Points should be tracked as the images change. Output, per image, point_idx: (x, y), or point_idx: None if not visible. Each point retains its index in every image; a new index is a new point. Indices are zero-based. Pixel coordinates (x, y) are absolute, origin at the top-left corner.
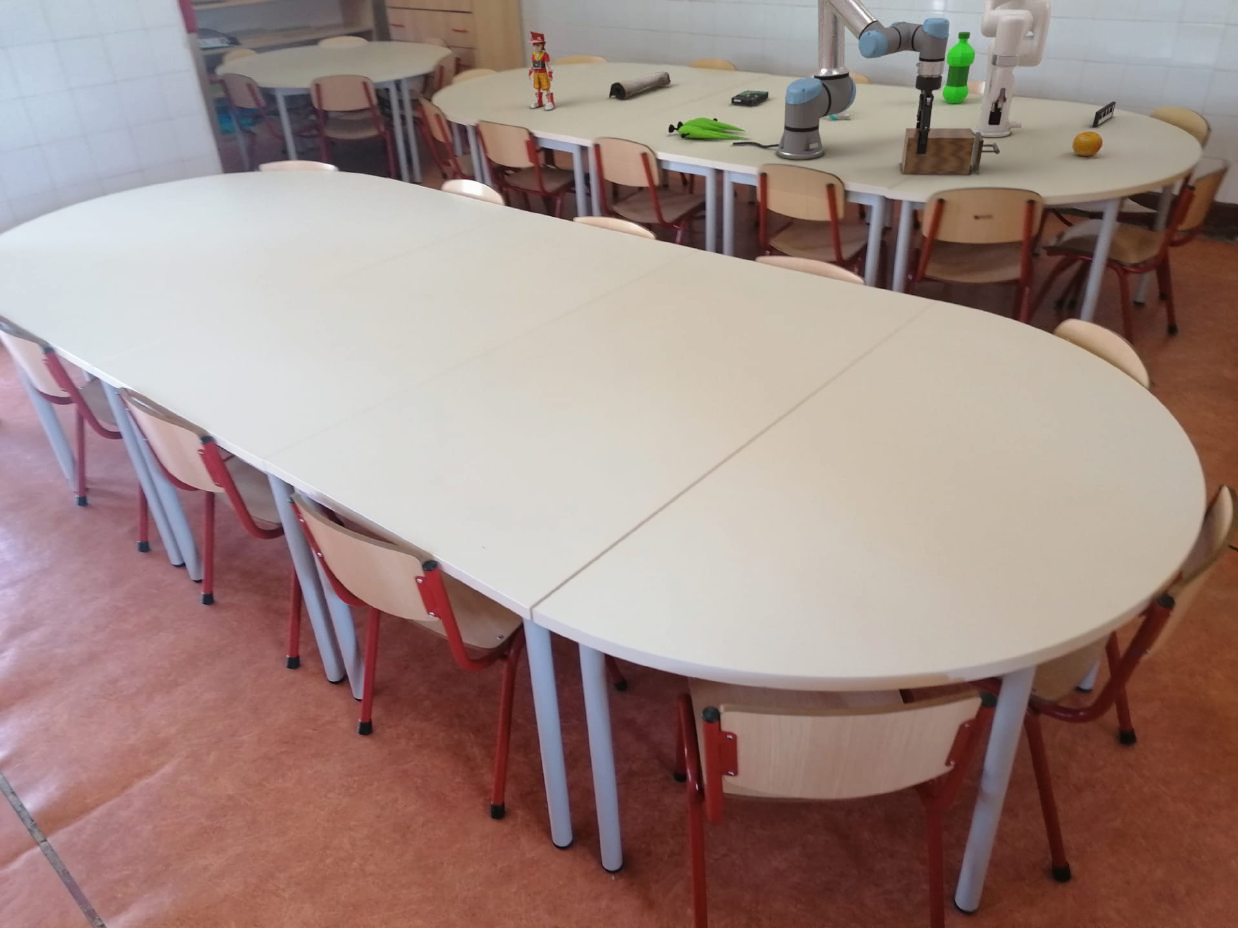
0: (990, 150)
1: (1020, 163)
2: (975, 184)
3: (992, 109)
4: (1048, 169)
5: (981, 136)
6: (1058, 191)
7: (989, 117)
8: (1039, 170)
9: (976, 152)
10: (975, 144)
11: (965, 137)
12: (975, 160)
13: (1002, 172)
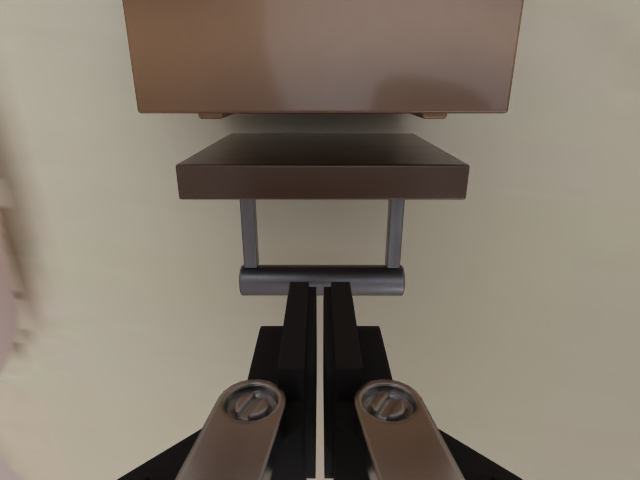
0: (247, 240)
1: (421, 365)
2: (48, 117)
3: (259, 410)
4: None
5: (314, 195)
6: (37, 438)
7: (336, 318)
8: None
9: (262, 146)
10: (368, 151)
11: (140, 11)
12: (252, 139)
13: None
